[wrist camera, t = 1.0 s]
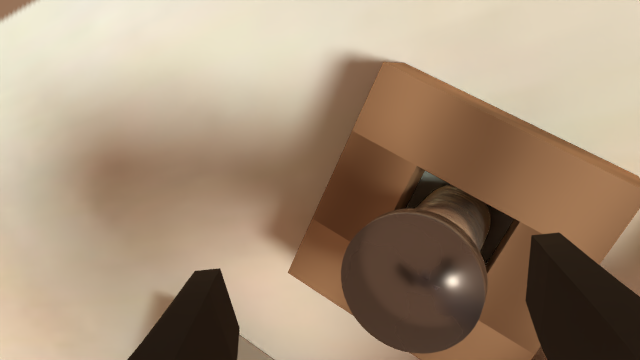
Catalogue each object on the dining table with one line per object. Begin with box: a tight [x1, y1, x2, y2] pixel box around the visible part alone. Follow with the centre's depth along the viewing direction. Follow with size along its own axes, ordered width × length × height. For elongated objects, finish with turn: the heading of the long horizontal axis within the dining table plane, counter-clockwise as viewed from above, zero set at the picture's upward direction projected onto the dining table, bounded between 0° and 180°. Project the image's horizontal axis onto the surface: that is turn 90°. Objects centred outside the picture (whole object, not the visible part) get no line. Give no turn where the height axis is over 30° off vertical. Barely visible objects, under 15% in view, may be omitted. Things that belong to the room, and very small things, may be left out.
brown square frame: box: [288, 62, 640, 360], centre depth 21 cm, size 10×10×3 cm
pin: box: [341, 185, 491, 354], centre depth 19 cm, size 4×4×8 cm
